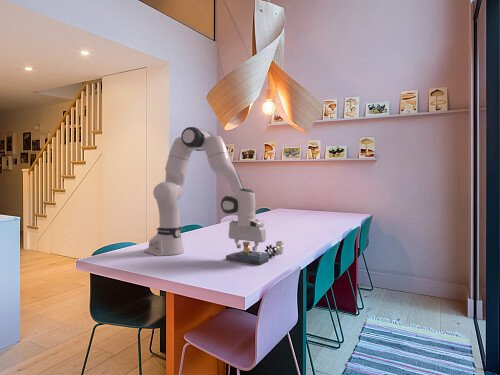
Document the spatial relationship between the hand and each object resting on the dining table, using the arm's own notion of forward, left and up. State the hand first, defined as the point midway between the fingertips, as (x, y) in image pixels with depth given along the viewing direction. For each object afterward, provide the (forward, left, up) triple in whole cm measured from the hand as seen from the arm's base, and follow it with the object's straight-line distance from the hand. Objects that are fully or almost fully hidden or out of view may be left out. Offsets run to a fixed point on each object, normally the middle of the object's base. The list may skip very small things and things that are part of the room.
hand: (246, 249), depth 168 cm
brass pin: (0, 0, -6) cm, 6 cm away
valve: (+7, +17, -6) cm, 19 cm away
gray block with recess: (0, 0, -6) cm, 6 cm away
